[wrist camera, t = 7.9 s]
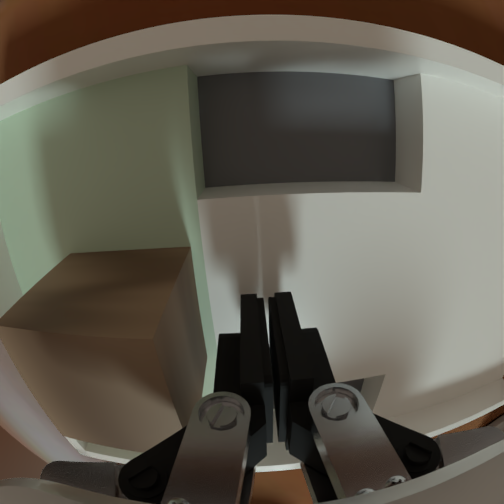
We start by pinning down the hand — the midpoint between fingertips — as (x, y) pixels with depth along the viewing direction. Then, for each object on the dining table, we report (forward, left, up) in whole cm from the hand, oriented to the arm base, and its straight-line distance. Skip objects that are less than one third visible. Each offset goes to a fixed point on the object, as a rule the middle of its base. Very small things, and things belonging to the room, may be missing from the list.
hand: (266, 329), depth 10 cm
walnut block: (+5, 0, -1) cm, 5 cm away
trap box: (-3, 0, -4) cm, 5 cm away
